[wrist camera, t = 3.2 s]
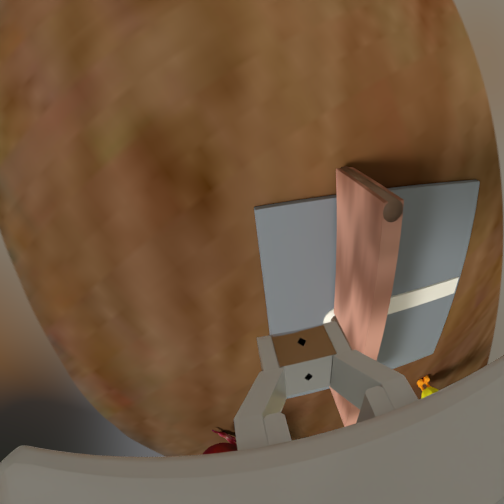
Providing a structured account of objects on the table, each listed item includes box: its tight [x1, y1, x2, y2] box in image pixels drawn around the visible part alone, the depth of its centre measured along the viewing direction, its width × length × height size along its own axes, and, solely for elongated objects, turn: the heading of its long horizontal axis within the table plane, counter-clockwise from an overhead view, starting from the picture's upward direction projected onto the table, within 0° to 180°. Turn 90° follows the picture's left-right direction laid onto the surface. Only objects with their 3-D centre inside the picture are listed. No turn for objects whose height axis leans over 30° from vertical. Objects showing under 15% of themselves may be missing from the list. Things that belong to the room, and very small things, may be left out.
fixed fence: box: [329, 316, 360, 427], centre depth 25 cm, size 10×2×7 cm, turn 7°
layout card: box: [254, 180, 480, 399], centre depth 26 cm, size 22×20×1 cm
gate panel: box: [334, 166, 404, 361], centre depth 19 cm, size 12×1×6 cm, turn 7°
